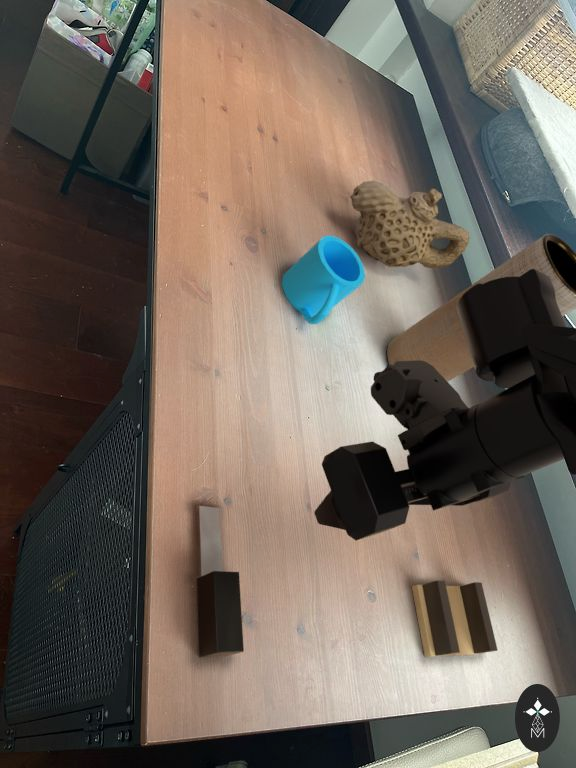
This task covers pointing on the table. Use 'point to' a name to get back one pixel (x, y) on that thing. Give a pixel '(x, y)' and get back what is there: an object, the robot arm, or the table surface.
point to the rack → (453, 619)
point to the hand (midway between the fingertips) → (355, 507)
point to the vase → (443, 326)
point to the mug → (323, 278)
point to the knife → (216, 592)
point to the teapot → (404, 227)
